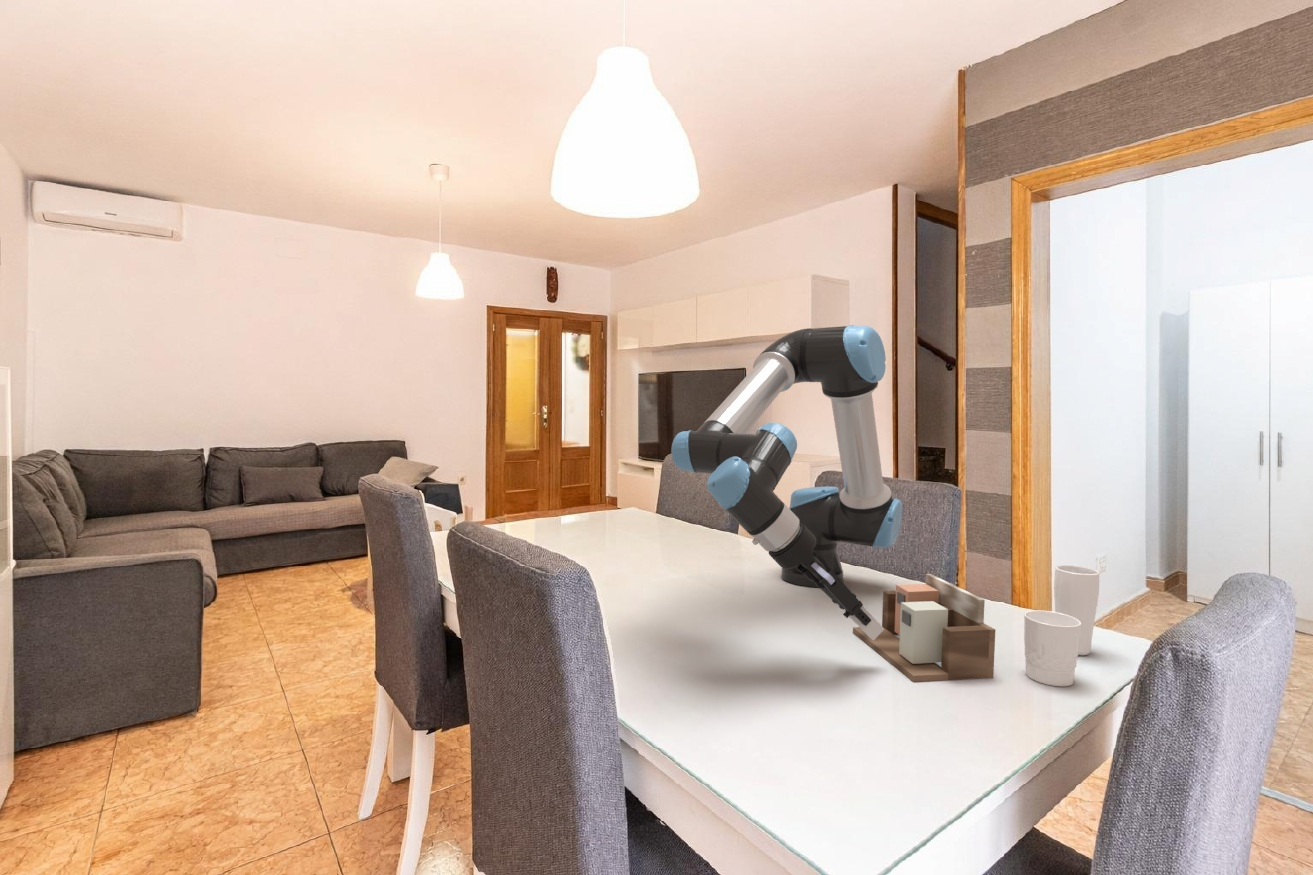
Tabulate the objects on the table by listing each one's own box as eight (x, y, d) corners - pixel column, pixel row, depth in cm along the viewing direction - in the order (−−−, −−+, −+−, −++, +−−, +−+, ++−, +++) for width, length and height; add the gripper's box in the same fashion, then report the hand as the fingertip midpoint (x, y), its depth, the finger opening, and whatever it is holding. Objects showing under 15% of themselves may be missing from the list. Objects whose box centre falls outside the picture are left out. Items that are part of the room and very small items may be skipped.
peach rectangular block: (893, 631, 122) (894, 584, 122) (924, 630, 123) (925, 583, 123) (905, 640, 118) (906, 591, 117) (937, 638, 119) (939, 590, 118)
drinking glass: (1056, 640, 122) (1060, 562, 121) (1099, 651, 117) (1103, 569, 116) (1046, 650, 117) (1050, 569, 116) (1090, 661, 112) (1094, 576, 111)
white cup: (1086, 690, 101) (1090, 628, 100) (1031, 685, 102) (1034, 624, 102) (1065, 670, 109) (1068, 612, 108) (1014, 665, 110) (1017, 608, 110)
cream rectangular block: (897, 653, 112) (899, 602, 111) (931, 651, 113) (933, 601, 112) (911, 663, 107) (912, 610, 107) (946, 661, 108) (948, 609, 108)
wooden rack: (852, 632, 125) (854, 571, 124) (920, 629, 127) (922, 569, 126) (913, 681, 103) (916, 608, 103) (993, 677, 105) (996, 605, 105)
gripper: (756, 544, 111) (844, 635, 115) (780, 563, 98) (880, 665, 102) (786, 513, 112) (873, 605, 115) (815, 528, 99) (912, 630, 102)
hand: (876, 633), depth 108 cm, fingers closed
